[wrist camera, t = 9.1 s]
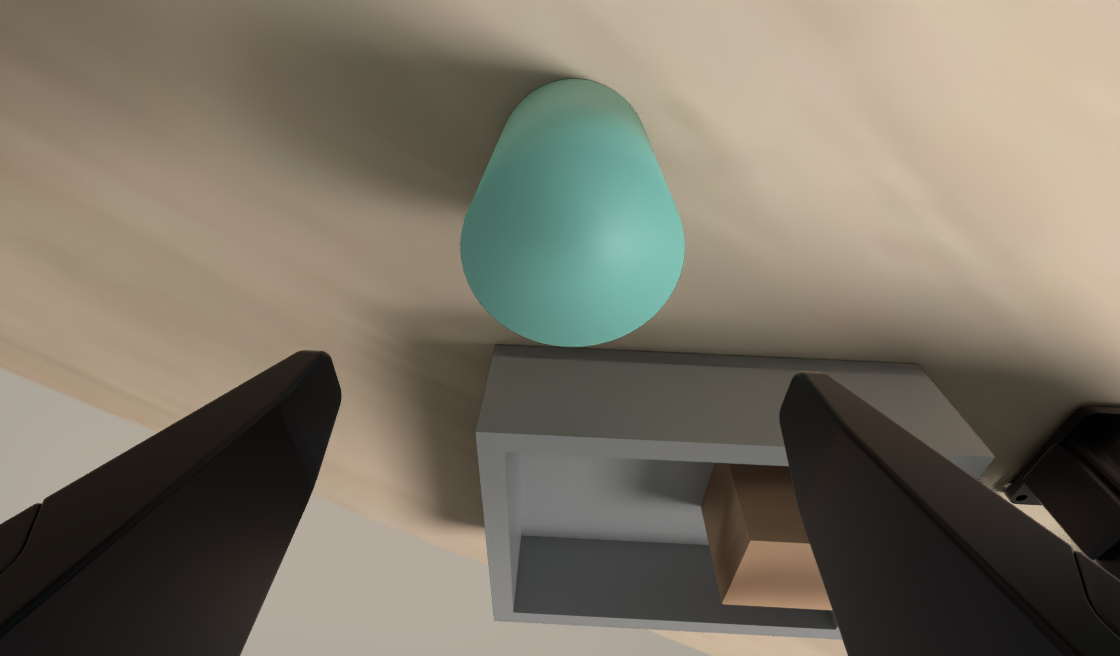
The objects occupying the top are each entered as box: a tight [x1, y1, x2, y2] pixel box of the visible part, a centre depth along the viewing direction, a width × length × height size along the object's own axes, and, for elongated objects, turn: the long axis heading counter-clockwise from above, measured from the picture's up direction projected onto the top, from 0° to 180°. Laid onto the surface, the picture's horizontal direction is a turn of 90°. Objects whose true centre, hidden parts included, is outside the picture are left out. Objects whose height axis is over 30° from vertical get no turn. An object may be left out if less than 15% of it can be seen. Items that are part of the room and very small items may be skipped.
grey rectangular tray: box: [475, 345, 995, 640], centre depth 24 cm, size 18×14×5 cm
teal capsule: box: [460, 79, 685, 347], centre depth 14 cm, size 5×5×7 cm
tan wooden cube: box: [701, 463, 832, 610], centre depth 23 cm, size 5×5×5 cm
